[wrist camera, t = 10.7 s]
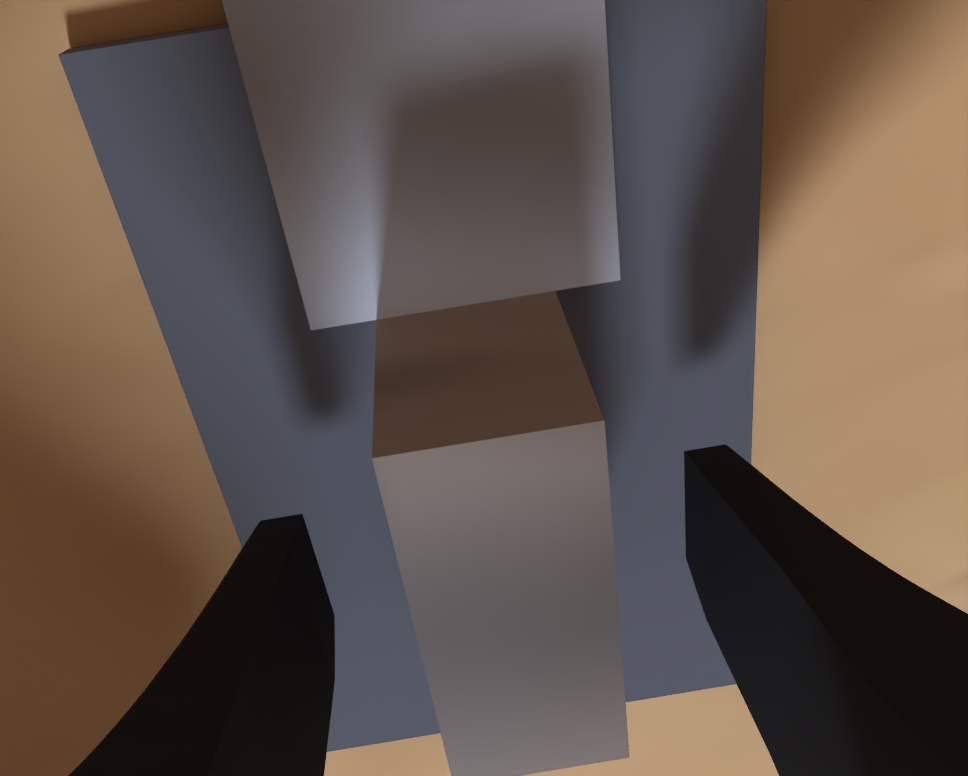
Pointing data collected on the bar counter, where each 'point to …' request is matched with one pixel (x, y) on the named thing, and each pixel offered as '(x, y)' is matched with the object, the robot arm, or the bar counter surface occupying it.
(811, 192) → the bar counter surface
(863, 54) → the bar counter surface
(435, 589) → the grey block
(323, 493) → the mat
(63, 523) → the bar counter surface
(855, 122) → the bar counter surface
